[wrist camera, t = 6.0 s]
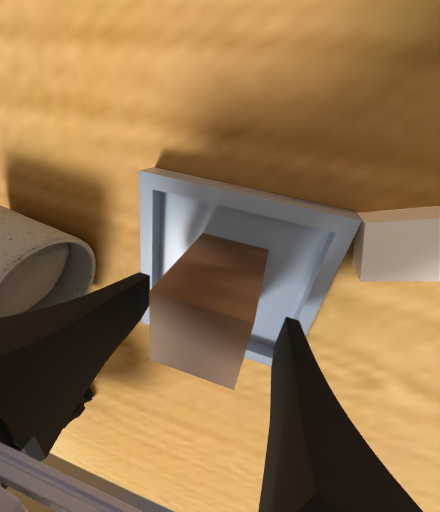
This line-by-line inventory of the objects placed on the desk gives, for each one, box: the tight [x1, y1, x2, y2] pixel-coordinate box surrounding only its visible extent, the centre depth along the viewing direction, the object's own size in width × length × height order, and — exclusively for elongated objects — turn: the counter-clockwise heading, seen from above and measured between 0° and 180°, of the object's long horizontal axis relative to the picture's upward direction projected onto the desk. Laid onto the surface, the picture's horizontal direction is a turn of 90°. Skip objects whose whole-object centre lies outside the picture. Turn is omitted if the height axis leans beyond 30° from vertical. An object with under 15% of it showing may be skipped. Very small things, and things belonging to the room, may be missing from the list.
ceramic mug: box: [0, 206, 96, 318], centre depth 16 cm, size 11×8×8 cm
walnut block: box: [149, 233, 269, 390], centre depth 12 cm, size 4×4×6 cm
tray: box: [139, 167, 362, 367], centre depth 14 cm, size 11×11×2 cm
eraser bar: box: [353, 206, 440, 281], centre depth 11 cm, size 6×3×2 cm, turn 100°
